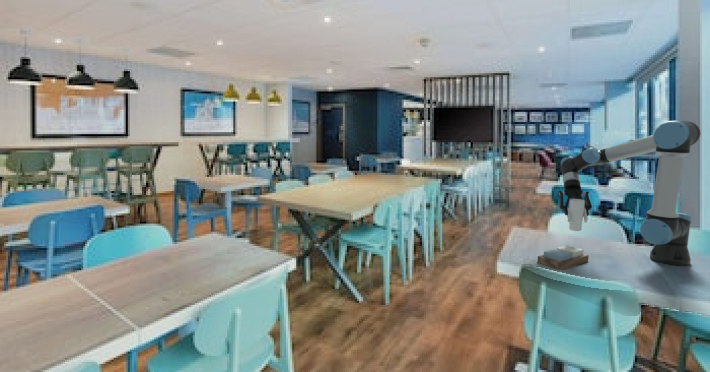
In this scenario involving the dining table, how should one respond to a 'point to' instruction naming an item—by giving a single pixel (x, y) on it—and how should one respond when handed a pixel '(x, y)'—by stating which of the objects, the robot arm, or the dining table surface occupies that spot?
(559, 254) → the slate key
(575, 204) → the drinking glass
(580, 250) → the cream key
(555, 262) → the keyguard frame
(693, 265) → the dining table surface
